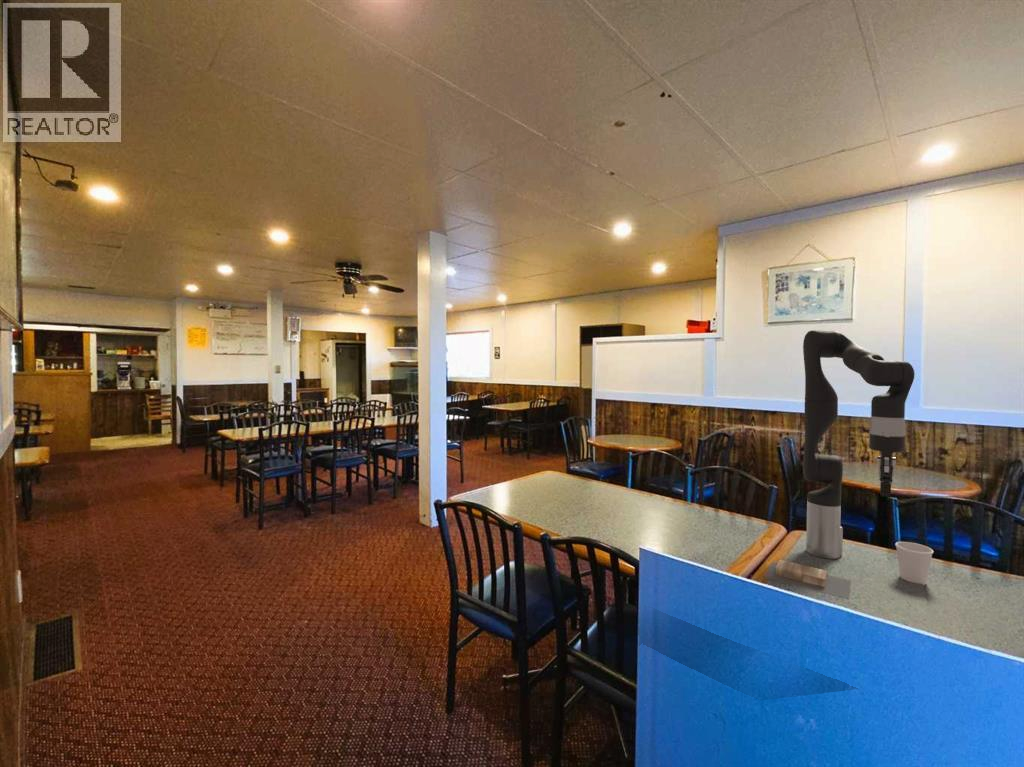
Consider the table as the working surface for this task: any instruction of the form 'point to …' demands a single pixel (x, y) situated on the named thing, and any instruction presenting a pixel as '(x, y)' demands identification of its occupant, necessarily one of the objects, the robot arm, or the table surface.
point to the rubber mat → (832, 585)
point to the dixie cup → (914, 561)
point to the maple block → (801, 573)
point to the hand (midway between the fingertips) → (885, 496)
